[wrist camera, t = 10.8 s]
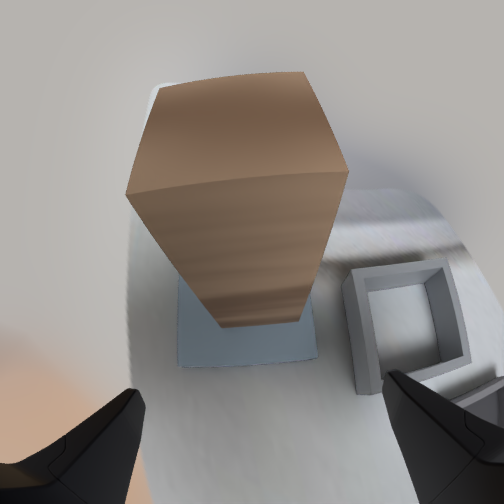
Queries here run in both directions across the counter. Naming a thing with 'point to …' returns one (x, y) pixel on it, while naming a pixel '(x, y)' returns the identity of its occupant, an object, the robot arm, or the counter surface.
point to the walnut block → (241, 191)
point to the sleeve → (442, 308)
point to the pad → (239, 337)
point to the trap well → (485, 401)
